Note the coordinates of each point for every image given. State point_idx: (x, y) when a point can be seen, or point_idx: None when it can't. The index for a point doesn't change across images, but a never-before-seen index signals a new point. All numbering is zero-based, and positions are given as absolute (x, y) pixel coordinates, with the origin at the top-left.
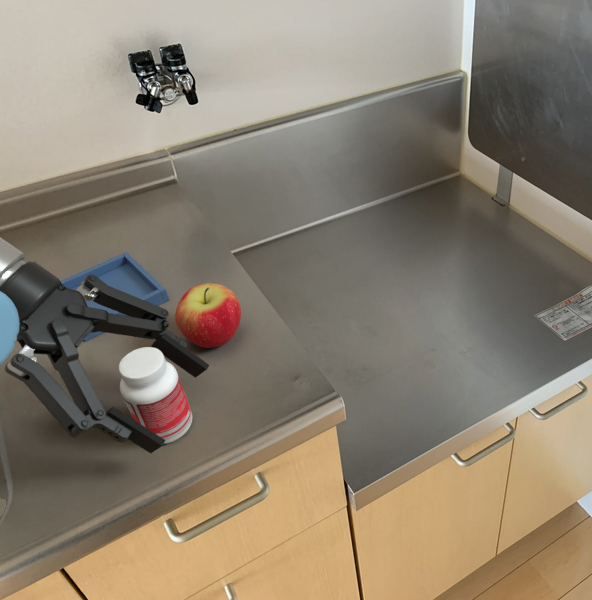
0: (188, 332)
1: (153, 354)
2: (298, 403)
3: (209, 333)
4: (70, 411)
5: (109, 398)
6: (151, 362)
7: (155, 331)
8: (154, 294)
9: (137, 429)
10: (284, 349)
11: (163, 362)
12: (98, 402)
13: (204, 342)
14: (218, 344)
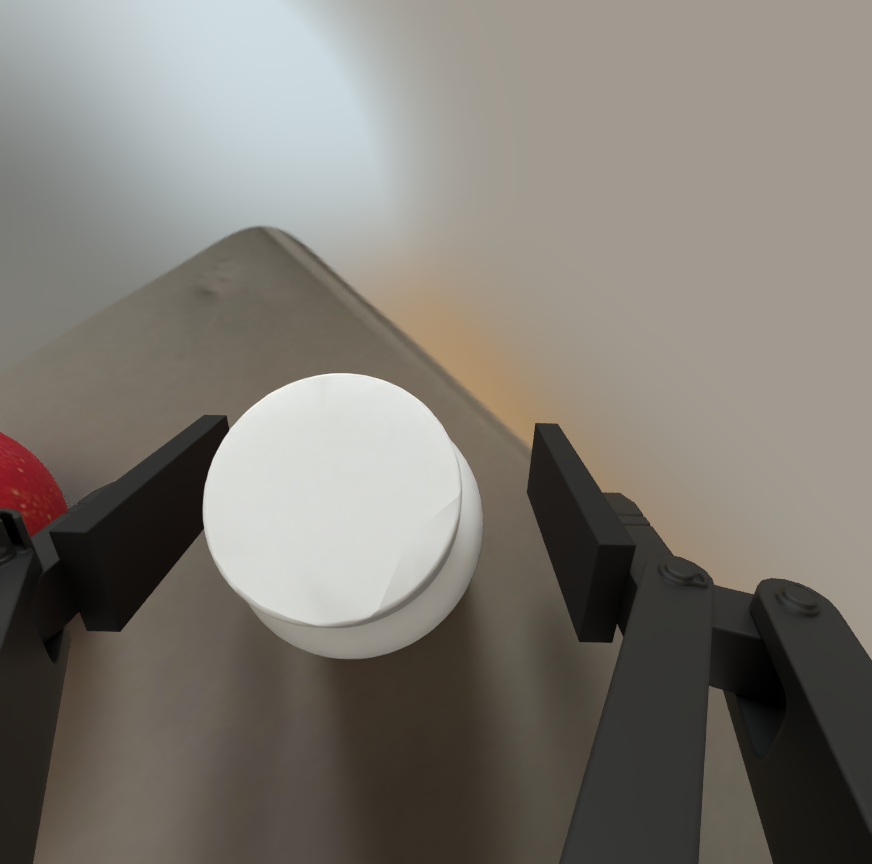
0: None
1: (266, 446)
2: (286, 270)
3: (24, 485)
4: (869, 693)
5: (299, 830)
6: (330, 429)
7: (33, 580)
8: None
9: (584, 466)
10: (97, 344)
11: (319, 377)
12: (648, 603)
13: None
14: (64, 500)
